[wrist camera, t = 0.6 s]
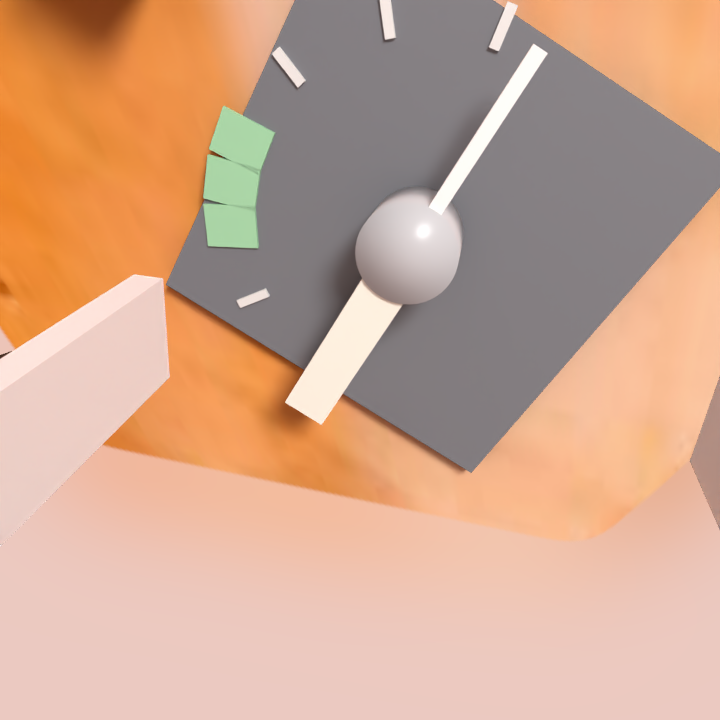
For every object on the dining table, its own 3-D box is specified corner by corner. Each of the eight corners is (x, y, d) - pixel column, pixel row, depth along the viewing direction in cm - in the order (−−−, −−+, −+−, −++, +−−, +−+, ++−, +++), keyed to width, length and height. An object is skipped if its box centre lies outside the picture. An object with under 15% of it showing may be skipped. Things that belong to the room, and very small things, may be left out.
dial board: (158, 270, 41) (149, 276, 40) (330, -120, 30) (324, -126, 29) (472, 463, 42) (471, 474, 41) (738, 155, 32) (745, 159, 31)
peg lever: (491, 17, 30) (489, 13, 27) (581, 77, 31) (591, 82, 27) (285, 361, 40) (263, 391, 37) (354, 404, 41) (340, 438, 37)
